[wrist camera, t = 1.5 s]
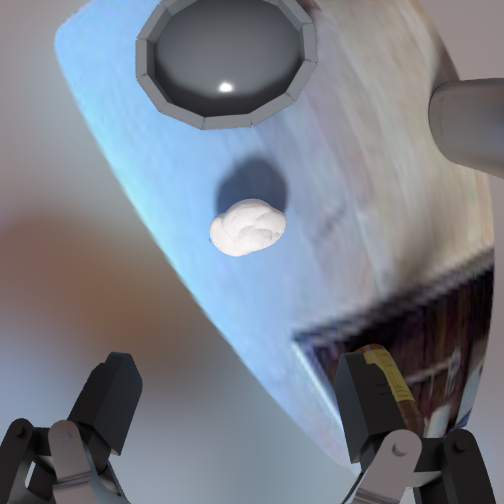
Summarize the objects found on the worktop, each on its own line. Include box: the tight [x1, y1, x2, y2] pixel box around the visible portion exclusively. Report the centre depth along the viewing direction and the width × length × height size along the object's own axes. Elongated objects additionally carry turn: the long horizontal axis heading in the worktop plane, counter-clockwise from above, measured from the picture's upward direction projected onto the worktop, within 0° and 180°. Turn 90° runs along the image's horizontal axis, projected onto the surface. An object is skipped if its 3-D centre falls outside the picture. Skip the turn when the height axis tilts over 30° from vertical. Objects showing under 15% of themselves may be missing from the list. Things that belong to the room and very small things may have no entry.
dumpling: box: [209, 199, 286, 256], centre depth 24 cm, size 7×5×4 cm
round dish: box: [136, 0, 318, 130], centre depth 18 cm, size 15×15×3 cm
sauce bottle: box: [354, 343, 425, 491], centre depth 24 cm, size 7×6×20 cm
